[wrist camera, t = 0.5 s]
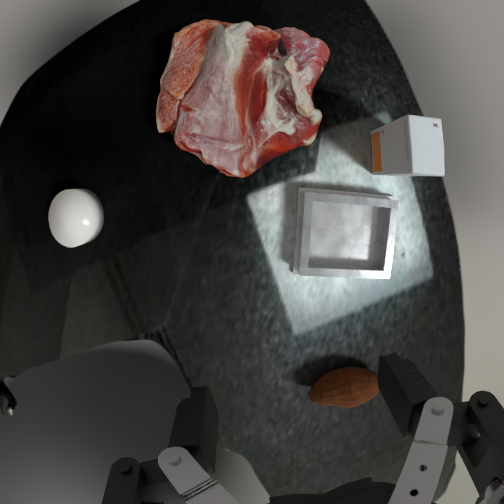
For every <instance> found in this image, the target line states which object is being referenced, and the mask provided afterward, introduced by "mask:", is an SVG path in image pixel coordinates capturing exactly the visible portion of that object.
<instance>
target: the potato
mask: <svg viewBox="0 0 504 504" xmlns="http://www.w3.org/2000/svg"><path fill="white" fill-rule="evenodd" d="M377 378H378V374H376V373H375V372H373V371H370V370H367V369H364V368H360V367H353V366H350V367H343V368H339V369H336V370H333V371H330V372H328V373H327V374H325V375H323V376H322V377H321V378H320V379H318V380H317V381H316V382H315V383H314V384H313V385H312V387H311V389H310V391H309V392H308V393H309V399H310V400H312V401H313V402H315V403H317V404H318V405H330V406H339V407H344V408H352V407H355V406H358V405H361V404H363V403H365V402H367V401H369V400H370V399H372V398H373V397H374V396H375V395H376V394H377V393H378V392H379V391H380V390H379V388H378V382H377Z"/></svg>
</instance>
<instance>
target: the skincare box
mask: <svg viewBox="0 0 504 504" xmlns="http://www.w3.org/2000/svg"><path fill="white" fill-rule="evenodd" d="M370 133H371V145H372V173H373V175H387V176H444V173H445V172H444V142H443V135H442V124H441V119H439V118H431V117H424V116H416V115H406V116H404V117H402V118H399V119H397V120H395V121H393V122H390V123H388V124H386V125H384V126H381V127H379V128H377V129H375V130H373V131H371V132H370Z"/></svg>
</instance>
